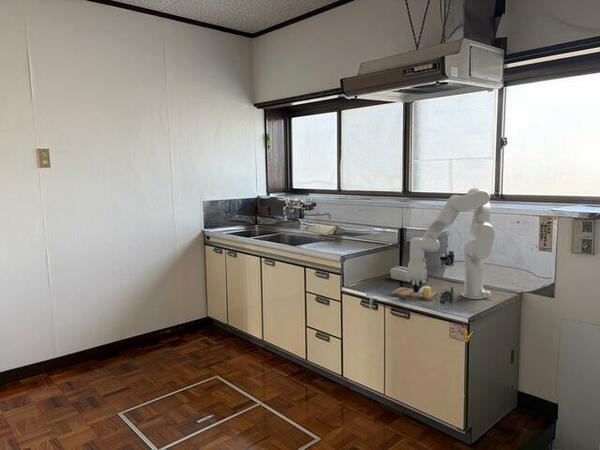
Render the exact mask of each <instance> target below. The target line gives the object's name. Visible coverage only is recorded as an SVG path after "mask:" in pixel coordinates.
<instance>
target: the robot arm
mask: <svg viewBox="0 0 600 450" xmlns="http://www.w3.org/2000/svg"><path fill="white" fill-rule="evenodd" d="M490 200H491V194H490V192H489V191H488V190H487V189H483V188H482V189H481V188H479V187H473V188H470V189H469V190H468V192H467V194H464V195H458V194H453V195H451V196H450V197H448V199H447V201H446V203H445V204H444V207H443V208H442V210H441V212H440V213H439V215H438V216H437V218H436V219H434V220H433V222H432V223H431V224H430V225H429V226H428V227H427V229H426V231H425V233H424V234H423V236H422V237H418V236H415V237H412V238H411V237H410V241H409V242H410V243H409V261H408V264H407V268H408V269H407V280H408V281H410V282H409V283H411V284H412V286H413V287H412V289H413V290H414V292H416V293H417V292H418V291H419V290H420V285H421V284H426V283H427V277H428V271H427V270H428V269H427V264H426V262H427V258H425V252H433V253H434V252H436V251H439V249H440V248H441V247H440V246H441V243H440V241H439V240H438V237H439V236H440V234H441V233H442V232H444V230H446V229H449V228H450V227H452V225H453V224H454V223H455V221H456V219H457V218H458V215H459V214H460V213H464V212H467V211H471V210H473V216H472V220H471V224H470V229H469V232H470V234H471V236H472V237H474V238H475V239H469V240H468V241H467V242H466V243H465V244H464V246H463V255H464V291H463V292H461V296H462V297H463V298H465V299H470V300H471V299H472V300H481V299H482V300H483V299H485V298H487V297H486V296H489V297H490V296H492V292H491V291H489V290H486V289H485V287H484V261H485V260H487V259H488V258H489V257H490V256H491V252H492V249H493V244H494V240H495V233H496V232H495V229H494V227H493V225H491V224H490V220H491V219H490V218H491V214H492V213H491V211H492V209H491V203H490Z"/></svg>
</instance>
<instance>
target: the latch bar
mask: <svg viewBox="0 0 600 450" xmlns="http://www.w3.org/2000/svg"><path fill="white" fill-rule="evenodd" d="M425 286H428V287H430V285H428V284H423V285H422V287H421V288H419V291H418V296H419V297H423V288H424V287H425Z"/></svg>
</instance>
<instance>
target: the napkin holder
mask: <svg viewBox="0 0 600 450" xmlns="http://www.w3.org/2000/svg"><path fill="white" fill-rule="evenodd" d="M407 269H408V267H405V266H394V267H392V268H391V269H390V270H389V271H390V278H391V279H393V280H397V281H398V280H399V281H402V282H408V283H411V282H410V281H408V280H407Z"/></svg>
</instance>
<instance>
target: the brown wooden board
mask: <svg viewBox="0 0 600 450" xmlns="http://www.w3.org/2000/svg"><path fill="white" fill-rule="evenodd" d="M439 295H440V294H439V291H438V292H437V291H433V290H431V296H430V297H429V298H428V297H419V296H418V292H417V293H416V292H414V290H413V288H410V287H409V288H408V287H401V286H400V287H398V288H396V289H395V290H393V291H392V292H390V296H392V297H399V298H406V299H413V300H419V301H427V302H432V300H435V298H437V297H438V296H439Z"/></svg>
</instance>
